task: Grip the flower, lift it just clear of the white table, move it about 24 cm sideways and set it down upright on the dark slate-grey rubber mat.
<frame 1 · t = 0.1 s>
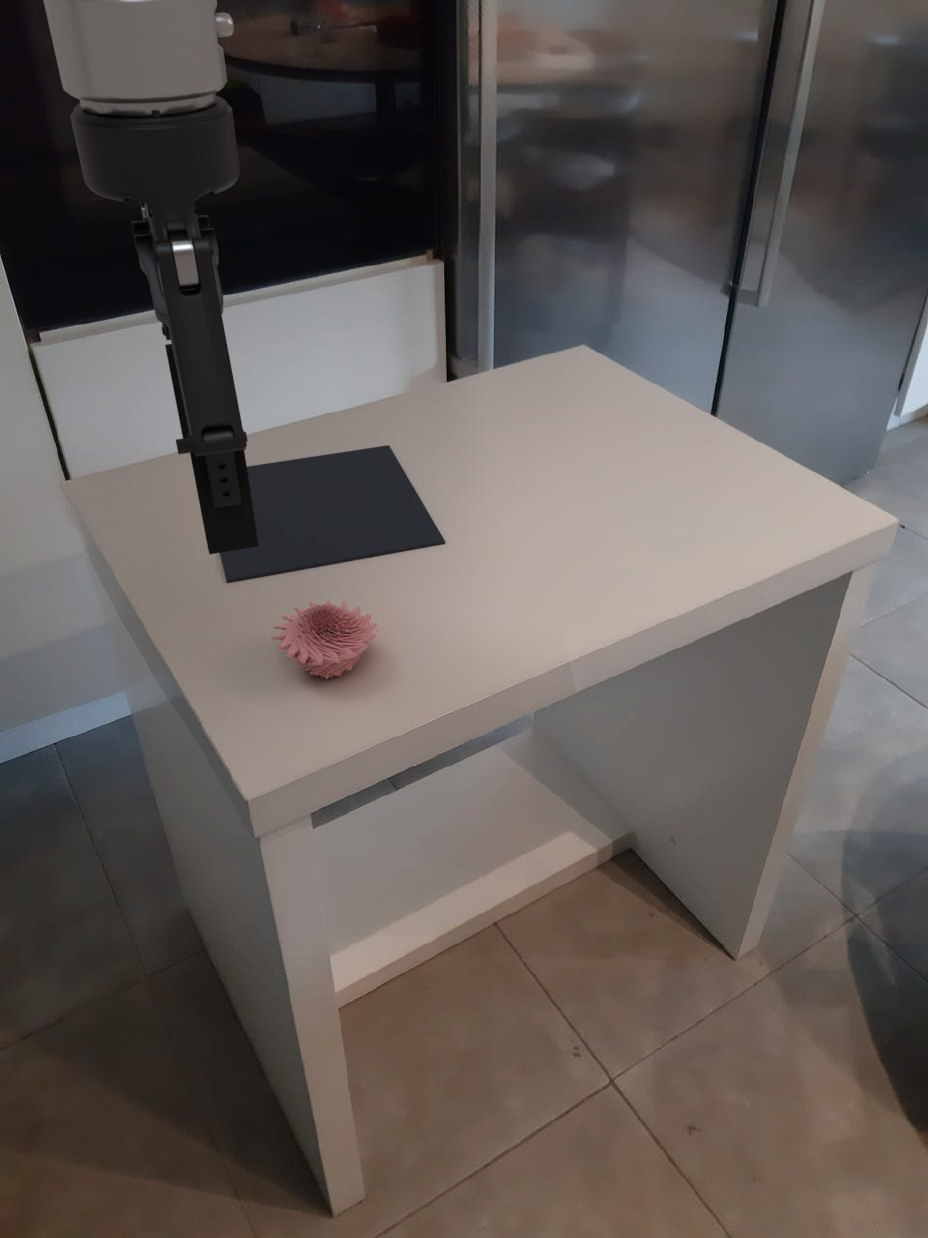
hand: (217, 489, 60), 20 cm above the table, tool pointing down, fingers open, 13 cm apart
flower: (328, 669, 77), on the table
mat: (316, 507, 96), on the table
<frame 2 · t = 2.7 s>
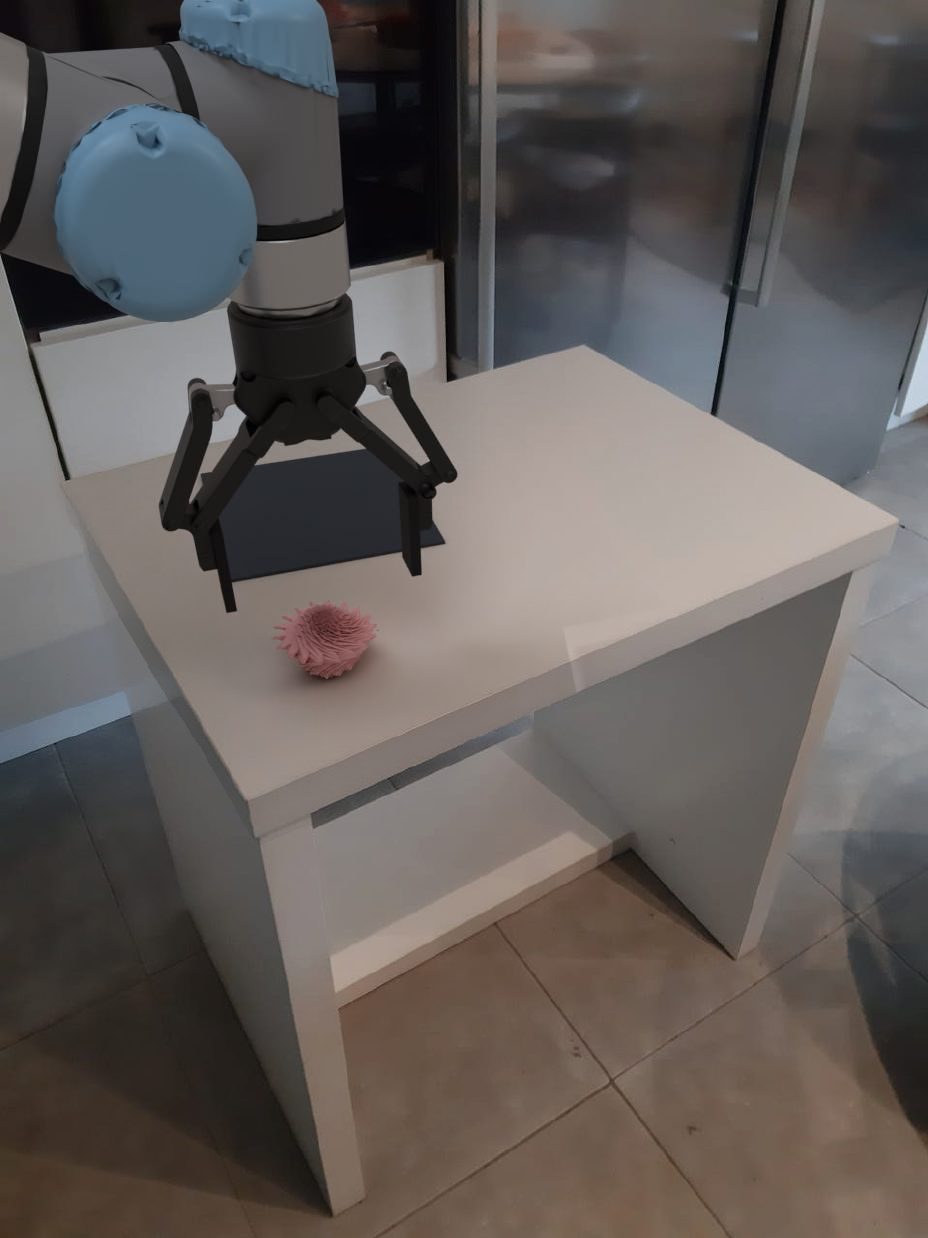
hand: (322, 583, 72), 8 cm above the table, tool pointing down, fingers open, 13 cm apart
nothing on the table moved.
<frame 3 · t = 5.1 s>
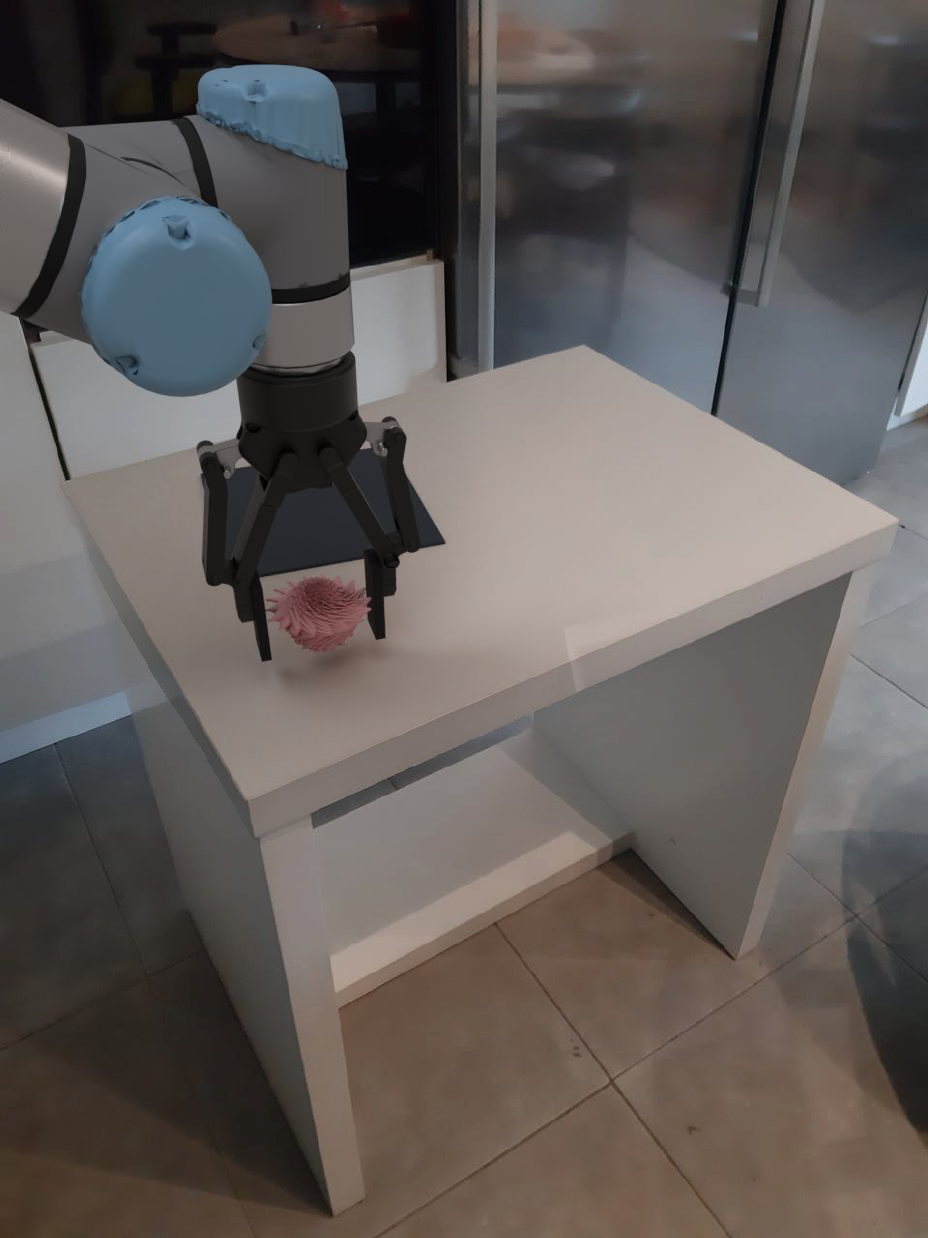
hand: (321, 639, 75), 3 cm above the table, tool pointing down, fingers closed on flower, 8 cm apart
flower: (321, 644, 75), point 2 cm above the table, touching gripper
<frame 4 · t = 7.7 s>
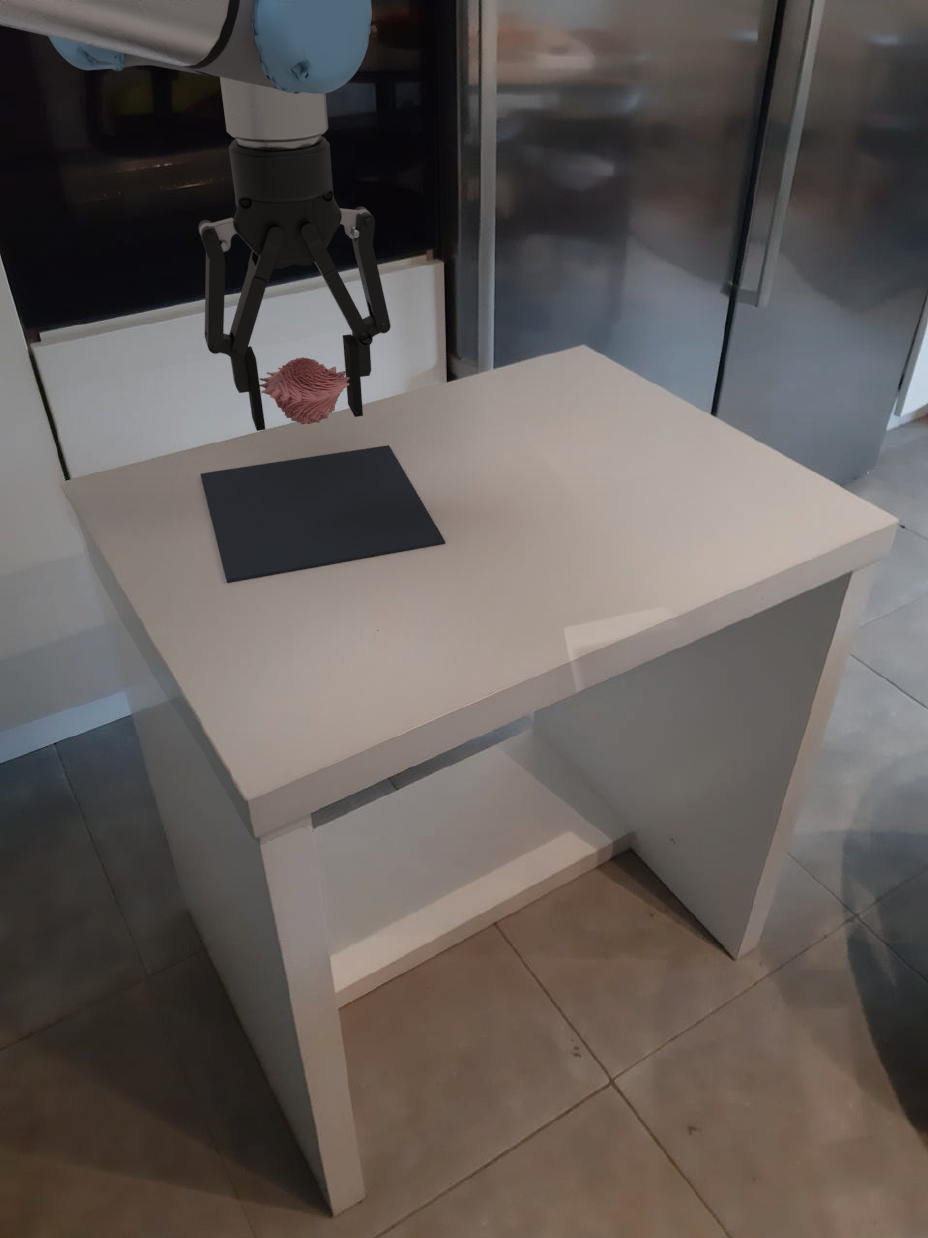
hand: (307, 416, 87), 11 cm above the table, tool pointing down, fingers closed on flower, 8 cm apart
flower: (308, 421, 87), point 10 cm above the table, touching gripper
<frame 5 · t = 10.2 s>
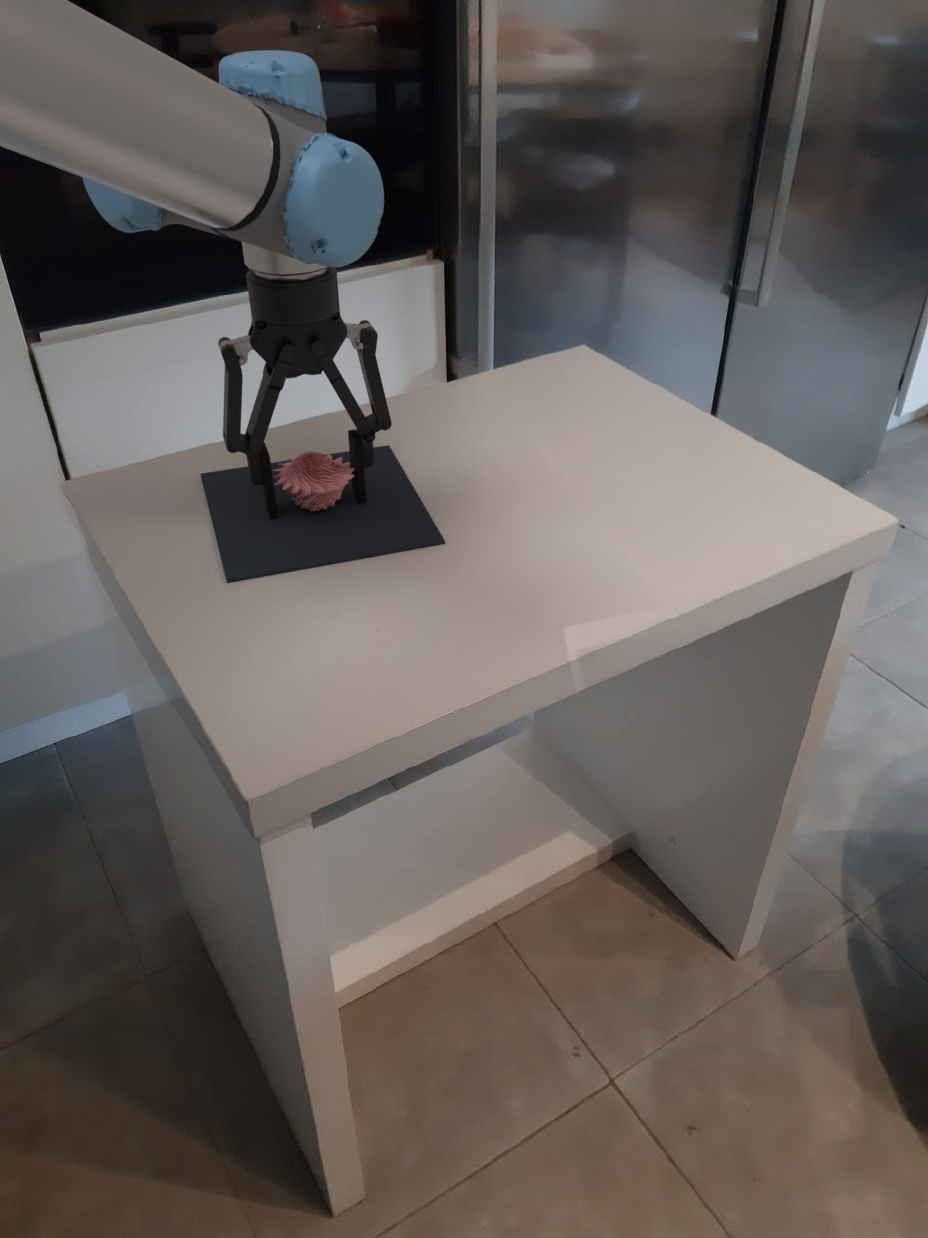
hand: (316, 502, 95), 1 cm above the table, tool pointing down, fingers closed on flower, 8 cm apart
flower: (316, 507, 96), resting on mat, touching gripper
when the fingers open (1 cm above the table, at t = 10.4 s): flower stays where it is, resting on mat.
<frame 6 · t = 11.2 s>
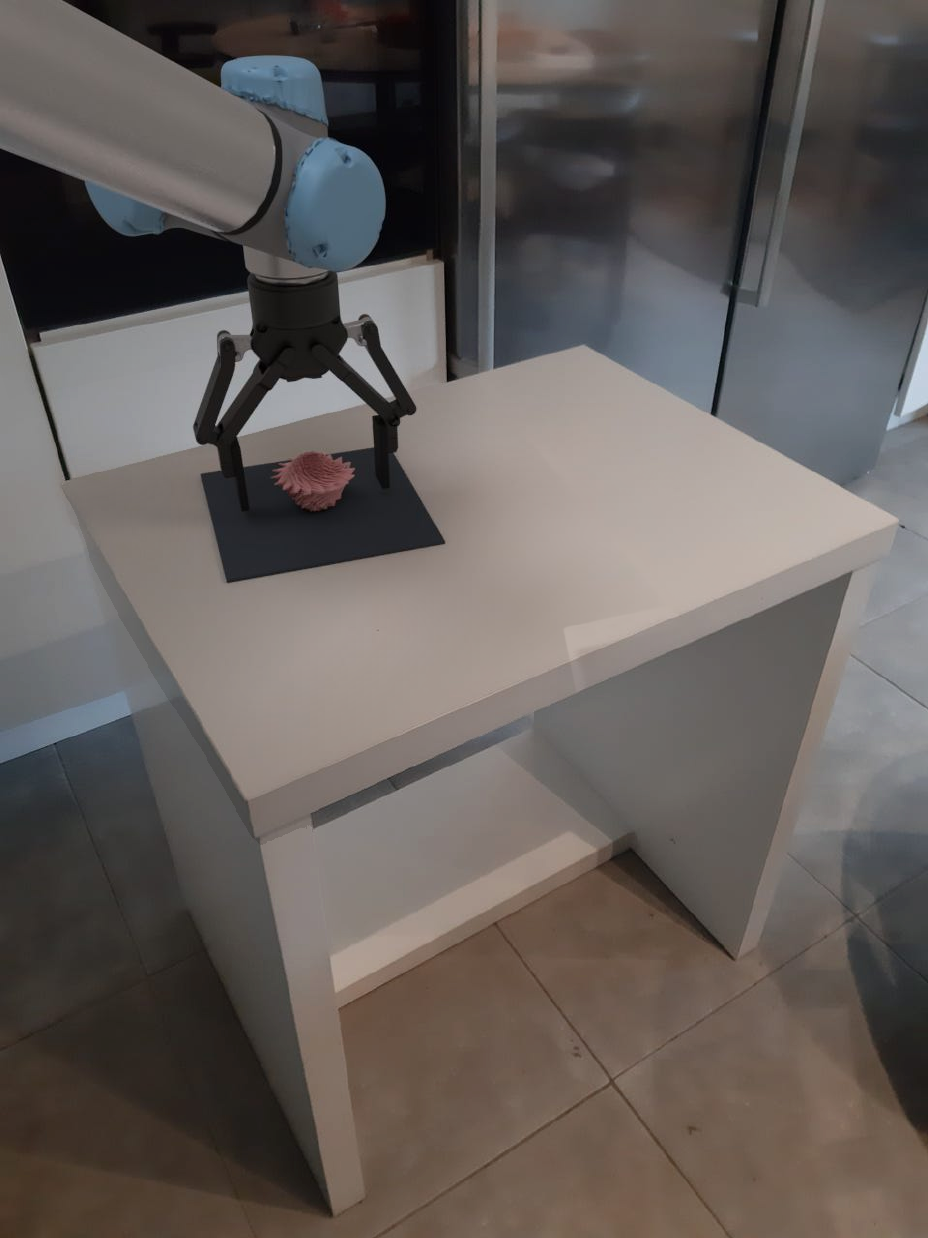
hand: (314, 493, 95), 2 cm above the table, tool pointing down, fingers open, 13 cm apart
flower: (316, 507, 96), resting on mat
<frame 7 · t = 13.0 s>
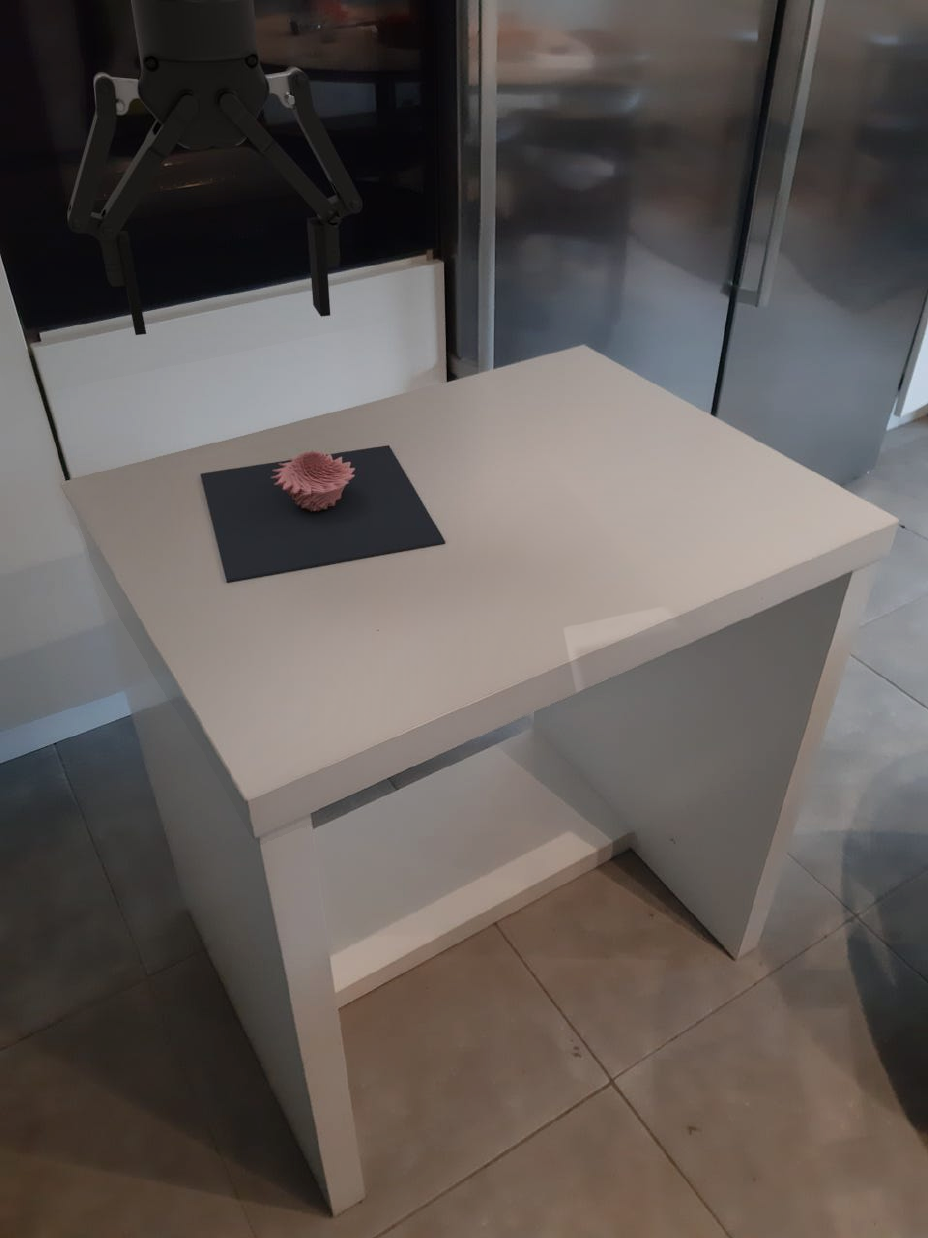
hand: (233, 319, 74), 23 cm above the table, tool pointing down, fingers open, 13 cm apart
nothing on the table moved.
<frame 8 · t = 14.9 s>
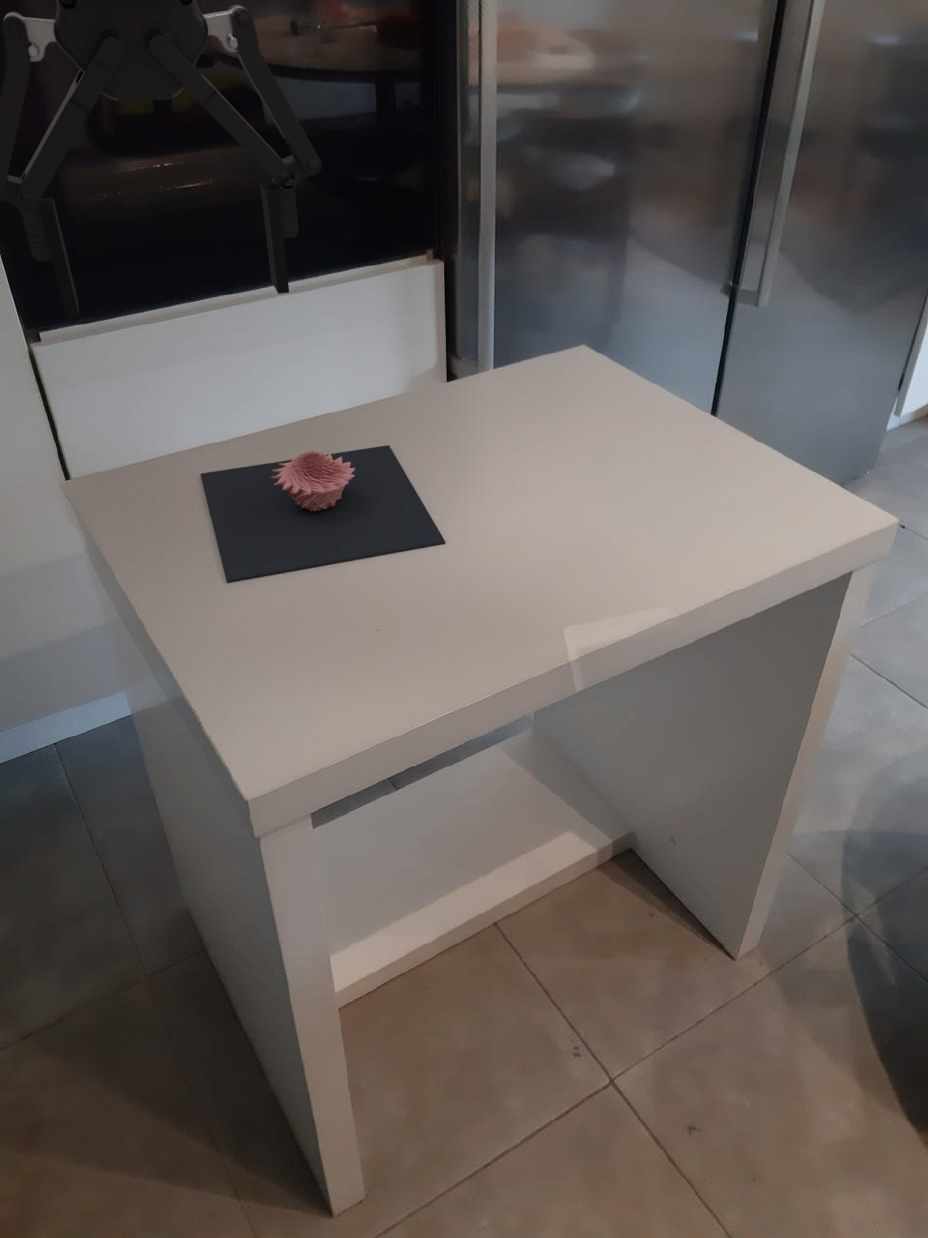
hand: (179, 298, 66), 27 cm above the table, tool pointing down, fingers open, 13 cm apart
nothing on the table moved.
at the end: flower inside the target area on the mat (0.0 cm from its centre), point 0.1 cm above the mat's base; flower moved 24.3 cm from its start; flower tilted 0° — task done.
